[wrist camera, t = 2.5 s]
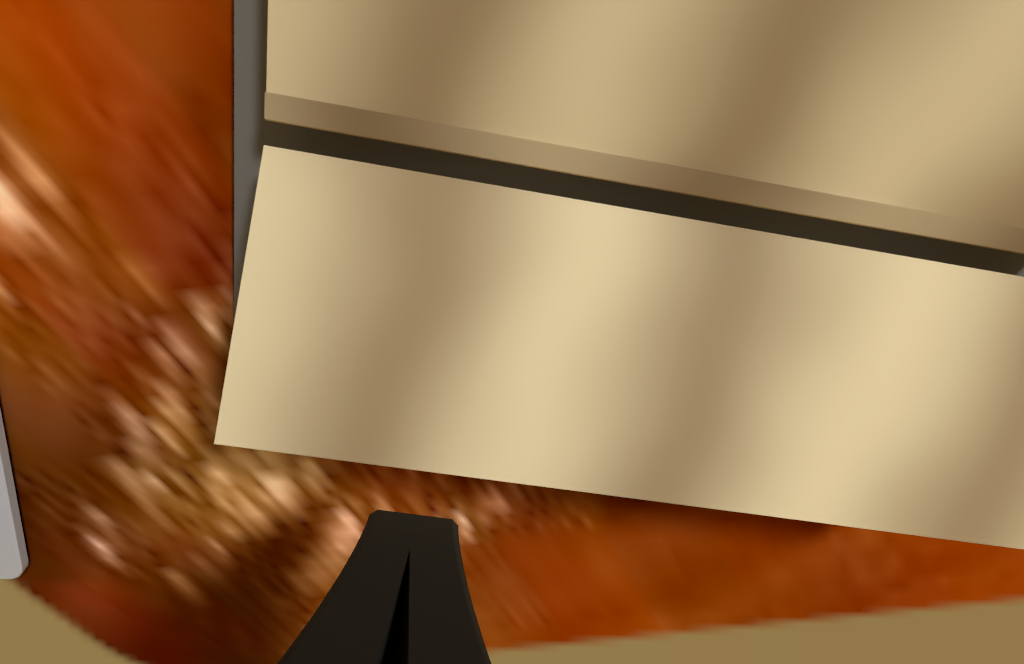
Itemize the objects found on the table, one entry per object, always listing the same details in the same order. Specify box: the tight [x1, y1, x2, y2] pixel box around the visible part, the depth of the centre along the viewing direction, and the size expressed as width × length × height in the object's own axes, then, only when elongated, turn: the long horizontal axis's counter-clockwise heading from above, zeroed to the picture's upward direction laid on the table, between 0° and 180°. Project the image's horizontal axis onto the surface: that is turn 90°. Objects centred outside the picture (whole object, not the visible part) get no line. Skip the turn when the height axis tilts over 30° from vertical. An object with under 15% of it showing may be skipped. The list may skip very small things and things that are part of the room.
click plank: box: [214, 145, 1024, 549], centre depth 15 cm, size 18×6×1 cm, turn 80°
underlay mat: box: [234, 0, 1024, 321], centre depth 16 cm, size 20×16×1 cm
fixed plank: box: [264, 0, 1024, 254], centre depth 14 cm, size 18×6×1 cm, turn 80°
